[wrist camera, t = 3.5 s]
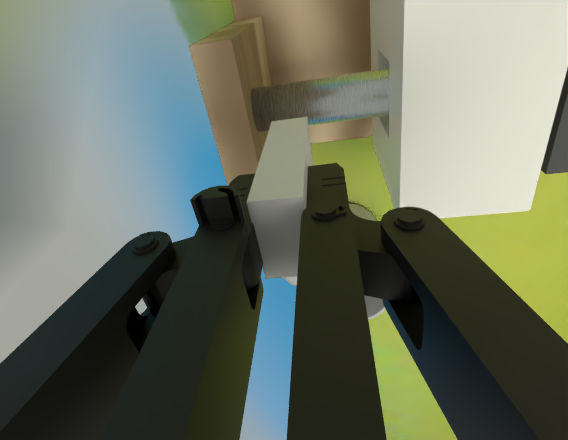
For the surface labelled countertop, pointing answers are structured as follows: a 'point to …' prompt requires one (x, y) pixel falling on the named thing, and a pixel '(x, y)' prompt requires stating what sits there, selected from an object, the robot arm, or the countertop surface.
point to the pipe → (323, 99)
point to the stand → (278, 67)
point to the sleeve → (467, 100)
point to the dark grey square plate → (558, 137)
